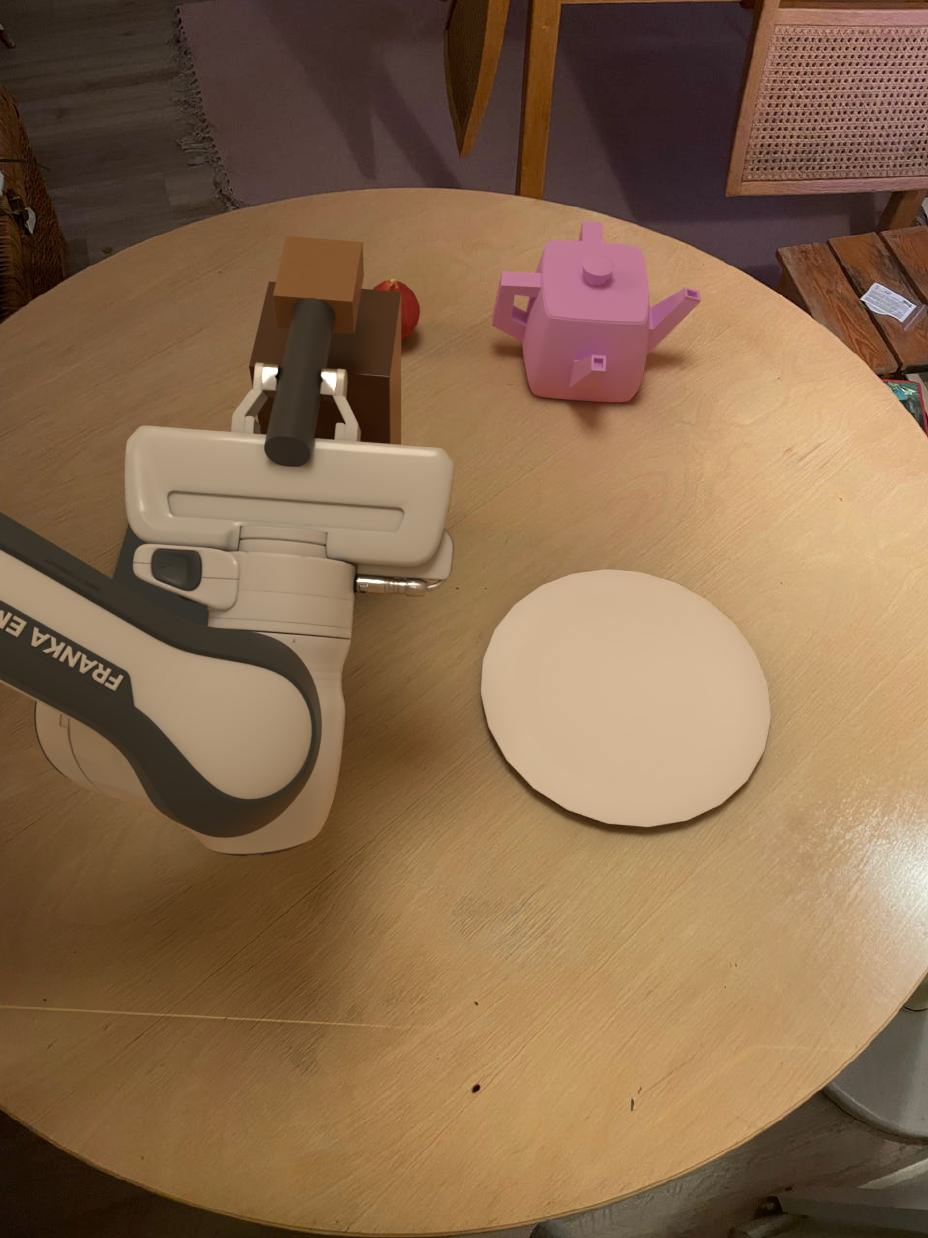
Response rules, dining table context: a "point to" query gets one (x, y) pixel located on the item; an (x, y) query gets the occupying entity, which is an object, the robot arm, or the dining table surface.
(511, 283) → the teakettle
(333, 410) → the post
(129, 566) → the felt mat
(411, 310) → the onion
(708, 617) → the plate
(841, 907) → the dining table surface
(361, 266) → the brown block with handle
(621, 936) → the dining table surface
